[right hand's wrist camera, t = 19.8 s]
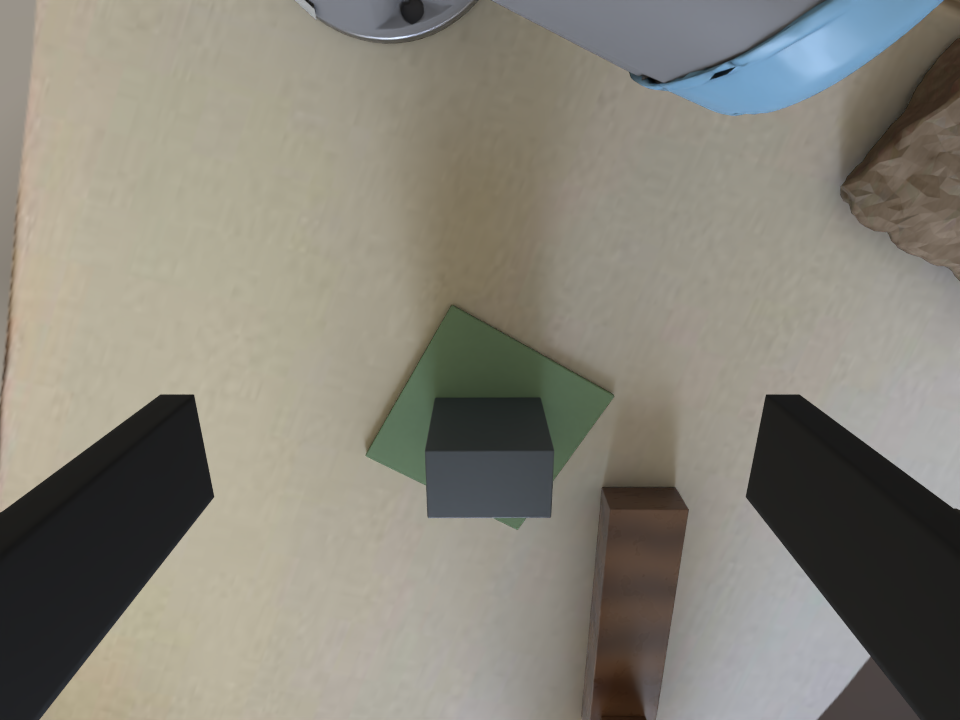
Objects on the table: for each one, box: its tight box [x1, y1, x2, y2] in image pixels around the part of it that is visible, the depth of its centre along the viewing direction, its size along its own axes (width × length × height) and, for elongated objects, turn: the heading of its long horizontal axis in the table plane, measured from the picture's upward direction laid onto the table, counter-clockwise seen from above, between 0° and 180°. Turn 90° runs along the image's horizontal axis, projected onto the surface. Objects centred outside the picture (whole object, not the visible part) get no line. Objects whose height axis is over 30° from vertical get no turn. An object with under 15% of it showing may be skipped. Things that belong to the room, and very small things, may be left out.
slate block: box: [425, 397, 554, 518], centre depth 38 cm, size 5×8×8 cm, turn 90°
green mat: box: [366, 305, 614, 530], centre depth 42 cm, size 14×14×1 cm
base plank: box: [582, 488, 689, 720], centre depth 45 cm, size 26×6×9 cm, turn 0°
